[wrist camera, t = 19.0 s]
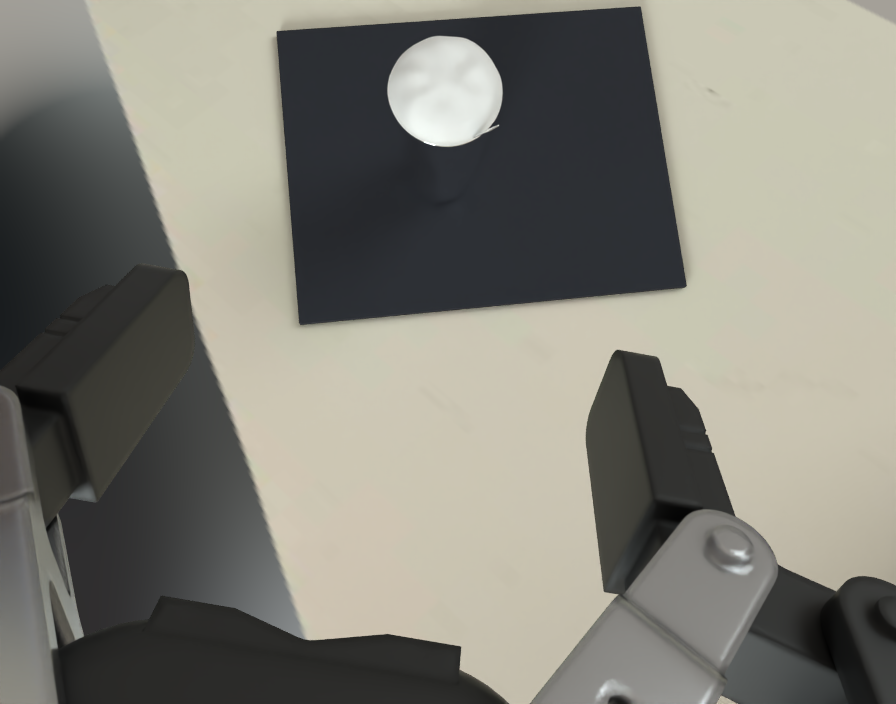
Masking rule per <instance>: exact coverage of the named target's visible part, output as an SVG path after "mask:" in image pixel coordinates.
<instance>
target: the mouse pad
mask: <svg viewBox="0 0 896 704" xmlns="http://www.w3.org/2000/svg"><path fill="white" fill-rule="evenodd" d="M433 36H449V37H461V38H466V39H468V40H470V41H472V42H474V43H475V44H477V45H478V46H479V47H481V48H482V49H483V50H484V51H485V52H486V53H487V55H488V56H489V57H490V59H491V60H492V62H493V63H494V65H495V67H496V69H497V71H498V73H499V75H500V77H501V81H502V91H503V94H502V103H501V107H500V111H499V113H498V115H497V117H496V119H495V122H494V124H493V126H492V127H494V126H497V125H499V126H498V127H497V128H495V129H493V130H492V131H490V132H489V135H488V137H487V139H486V141H485V144H484V146H483V149H482V152H481V154H480V157H479V159H478V162H477V165H476V167H475V170H474V172H473V175H472V177H471V180H470V182H469V185H468V186H467V188H466V189H465V190H464V191H463V192H462V193H461V194H460V196H459V197H458V198H457V199H456V200H455V201H450V202H446V203H441V204H437V205H436V204H434V203H431V202H429V201H426V200H424V199H421V198H419V197H418V196H417V194H416V193H415V191H414V190H413V188H412V187H411V185H410V184H409V182H408V180H407V175H406V171H405V166H404V161H403V156H402V151H401V146H400V141H399V136H398V132H397V128H396V125H395V121H394V117H393V113H392V110H391V107H390V104H389V99H388V91H387V89H388V80H389V77H390V74H391V71H392V69H393V67H394V65H395V63H396V62H397V60H398V59H399V58H400V56H401V55H402V54H403V53H404V52H405V51H406V50H407V49H409V48H410V47H412V46H413V45H415V44H417V43H419V42H420V41H423V40H425V39H427V38H430V37H433ZM277 44H278V56H279V69H280V82H281V95H282V108H283V120H284V133H285V146H286V159H287V172H288V184H289V197H290V210H291V223H292V236H293V249H294V261H295V274H296V287H297V300H298V313H299V324H300V325H305V324H315V323H325V322H335V321H346V320H356V319H366V318H377V317H387V316H397V315H407V314H418V313H428V312H438V311H449V310H459V309H469V308H479V307H490V306H500V305H510V304H521V303H531V302H541V301H551V300H562V299H572V298H582V297H592V296H603V295H613V294H623V293H634V292H644V291H654V290H664V289H675V288H684V287H686V286H687V285H686V279H685V273H684V267H683V261H682V255H681V249H680V243H679V236H678V230H677V224H676V218H675V212H674V206H673V200H672V194H671V188H670V182H669V176H668V170H667V164H666V158H665V152H664V146H663V139H662V133H661V127H660V121H659V115H658V109H657V103H656V97H655V91H654V85H653V79H652V73H651V67H650V61H649V55H648V49H647V42H646V36H645V30H644V24H643V18H642V12H641V7H626V8H611V9H596V10H582V11H567V12H552V13H538V14H523V15H508V16H493V17H479V18H464V19H449V20H434V21H420V22H405V23H390V24H376V25H361V26H346V27H331V28H317V29H302V30H287V31H277Z"/></svg>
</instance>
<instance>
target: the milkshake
mask: <svg viewBox="0 0 896 704" xmlns="http://www.w3.org/2000/svg"><path fill="white" fill-rule="evenodd" d="M387 91H388V99H389V104H390V107H391V110H392V113H393V117H394V121H395V125H396V128H397V132H398V136H399V141H400V146H401V151H402V156H403V161H404V166H405V171H406V175H407V180H408V182H409V184H410V185H411V187H412V188H413V190H414V191H415V193H416V194H417V196H418V197H419V198H421V199H424V200H426V201H429V202H431V203H434V204H436V205H437V204H441V203H446V202H450V201H455V200H456V199H457V198H458V197H459V196H460V194H461V193H462V192H463V191H464V190H465V189H466V188H467V186H468V185H469V182H470V180H471V177H472V175H473V172H474V170H475V167H476V165H477V162H478V159H479V157H480V154H481V152H482V149H483V146H484V144H485V141H486V139H487V137H488V135H489V132H490V131H492V130H493V129H495V128H497V127H498V126H499V125H497V126H494V127H492V126H493V124H494V122H495V119H496V117H497V115H498V113H499V111H500V107H501V103H502V94H503V91H502V81H501V77H500V75H499V73H498V71H497V69H496V67H495V65H494V63H493V62H492V60H491V59H490V57H489V56H488V55H487V53H486V52H485V51H484V50H483V49H482V48H481V47H479V46H478V45H477V44H475V43H474V42H472V41H470V40H468V39H466V38H461V37H449V36H433V37H430V38H427V39H425V40H423V41H420V42H419V43H417V44H415V45H413V46H412V47H410V48H409V49H407V50H406V51H405V52H404V53H403V54H402V55H401V56H400V58H399V59H398V60H397V62H396V63H395V65H394V67H393V69H392V71H391V74H390V77H389V80H388V89H387Z"/></svg>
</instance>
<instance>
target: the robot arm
mask: <svg viewBox="0 0 896 704" xmlns="http://www.w3.org/2000/svg"><path fill="white" fill-rule="evenodd" d="M194 347H195V336H194V327H193V318H192V309H191V300H190V291H189V282H188V278H187V275H186V274H185V272H183V271H181V270H176V269H170V268H164V267H159V266H153V265H147V264H142V263H141V264H138V265H136V266H135V267H134V268H133V269H132V270H131V271H130V272H129V273H128V274H127V275H126V276H125V277H124V278H123V279H122V280H121V281H120V282H119V283H118V284H117V285H116V286H111V285H105V286H102V287H100V288H98V289H96V290H94V291H92V292H90V293H88V294H85V295H83V296H81V297H79V298H78V299H77V300H76V301H75V302H74V303H73V304H72V305H70V306H69V307H68V308H67V309H66V310H65V311H64V312H63V313H62V314H61V315H60V319H58V318H56V319H55V320H54V321H53V322H52V323H51V324H50V325H49V326H48V327H47V328H46V329H45V333H41V334H39V335H38V336H37V337H36V338H35V339H34V340H33V341H32V342H31V343H30V344H29V345H27V346H26V347H25V348H24V349H23V350H22V351H21V352H20V353H19V354H18V355H17V356H16V357H15V358H13V359H12V360H11V361H10V362H9V363H8V364H7V365H6V366H5V367H4V368H3V369H2V370H1V371H0V704H509V703H508V702H507V701H506V700H505V699H504V698H502V697H501V696H500V695H499V694H497V693H496V692H495V691H494V690H492V689H491V688H490V687H489V686H487V685H486V684H484V683H483V682H481V681H479V680H478V679H476V678H475V677H473V676H471V675H469V674H467V673H465V672H463V671H461V670H459V668H460V655H461V647H460V646H455V645H449V644H443V643H437V642H431V641H425V640H419V639H413V638H407V637H401V636H396V635H390V634H384V635H372V636H361V637H349V638H337V639H325V640H304V639H301V638H298V637H296V636H294V635H292V634H290V633H288V632H285V631H283V630H281V629H279V628H277V627H275V626H272V625H270V624H268V623H266V622H264V621H261V620H259V619H257V618H255V617H253V616H251V615H249V614H246V613H244V612H242V611H240V610H238V609H236V608H230V607H224V606H219V605H213V604H207V603H201V602H195V601H189V600H183V599H177V598H171V597H165V596H161V597H160V599H159V601H158V603H157V605H156V607H155V609H154V611H153V613H152V615H151V617H150V619H147V620H138V621H133V622H128V623H123V624H118V625H115V626H112V627H108V628H105V629H101V630H99V631H96V632H94V633H91V634H89V635H86V636H84V635H83V631H82V628H81V624H80V620H79V616H78V611H77V606H76V601H75V595H74V590H73V584H72V580H71V574H70V568H69V563H68V558H67V552H66V547H65V541H64V536H63V531H62V525H61V521H60V518H59V515H58V512H59V511H60V509H61V508H62V507H63V505H64V504H65V503H66V501H67V500H68V498H74V499H80V500H85V501H91V502H98V500H99V499H100V497H101V496H102V494H103V493H104V491H105V490H106V489H107V487H108V486H109V484H110V483H111V481H112V480H113V478H114V477H115V475H116V474H117V473H118V471H119V470H120V468H121V467H122V465H123V464H124V462H125V461H126V459H127V458H128V457H129V455H130V454H131V452H132V451H133V449H134V448H135V446H136V445H137V443H138V442H139V441H140V439H141V438H142V436H143V435H144V433H145V432H146V430H147V429H148V427H149V426H150V424H151V423H152V422H153V420H154V419H155V417H156V416H157V414H158V413H159V411H160V410H161V408H162V407H163V406H164V404H165V403H166V401H167V400H168V398H169V397H170V395H171V394H172V392H173V391H174V390H175V388H176V387H177V385H178V384H179V382H180V381H181V379H182V378H183V376H184V375H185V374H186V372H187V370H188V368H189V366H190V364H191V361H192V358H193V354H194ZM705 432H706V429H705V426H704V423H703V421H702V418H701V415H700V412H699V409H698V408H697V407H696V406H695V404H694V403H693V402H692V401H691V400H690V398H689V397H688V396H687V395H686V394H685V392H684V391H683V390H682V389H681V388H676V387H671V386H667V383H666V380H665V377H664V373H663V370H662V367H661V363H660V360H659V359H658V358H657V357H655V356H649V355H644V354H638V353H633V352H627V351H621V350H616V351H615V352H614V353H613V355H612V357H611V359H610V361H609V364H608V366H607V369H606V372H605V374H604V377H603V379H602V382H601V384H600V387H599V389H598V392H597V395H596V397H595V400H594V402H593V405H592V407H591V410H590V413H589V417H588V421H587V428H586V448H587V456H588V464H589V473H590V481H591V489H592V497H593V506H594V514H595V522H596V531H597V539H598V547H599V556H600V564H601V572H602V580H603V589H604V592H608V593H614V594H619V595H617V597H616V598H615V599H614V600H613V601H612V602H611V603H610V604H609V606H608V607H607V608H606V609H605V611H604V612H603V613H602V614H601V616H600V617H599V618H598V619H597V621H596V622H595V623H594V624H593V626H592V627H591V628H590V629H589V631H588V632H587V633H586V634H585V636H584V637H583V638H582V639H581V641H580V642H579V643H578V644H577V646H576V647H575V648H574V649H573V651H572V652H571V653H570V654H569V655H568V657H567V658H566V659H565V660H564V662H563V663H562V664H561V665H560V667H559V668H558V669H557V670H556V672H555V673H554V674H553V675H552V677H551V678H550V679H549V680H548V682H547V683H546V684H545V685H544V687H543V688H542V689H541V690H540V692H539V693H538V694H537V695H536V697H535V698H534V699H533V700H532V702H531V703H530V704H716V703H717V701H718V700H719V698H720V696H721V695H722V696H724V697H726V698H728V699H730V700H732V701H734V702H736V703H738V704H896V586H895V585H893V584H891V583H889V582H886V581H884V580H881V579H877V578H874V577H867V576H858V577H854V578H851V579H849V580H847V581H846V582H845V583H844V584H843V585H842V586H841V587H840V588H839V589H838V590H837V592H836V591H834V590H832V589H830V588H827V587H825V586H823V585H821V584H818V583H816V582H814V581H812V580H809V579H807V578H805V577H802V576H800V575H798V574H796V573H793V572H791V571H789V570H787V569H785V568H783V567H781V566H780V565H778V564H777V560H776V557H775V555H774V553H773V551H772V549H771V547H770V546H769V544H768V543H767V542H766V540H765V539H764V538H763V537H762V536H761V535H760V534H759V533H758V532H757V531H756V530H755V529H754V528H752V527H751V526H750V525H748V524H747V523H746V522H744V521H742V520H741V519H739V518H737V517H736V516H735V514H734V511H733V508H732V505H731V502H730V499H729V496H728V493H727V490H726V487H725V484H724V482H723V479H722V476H721V473H720V470H719V467H718V464H717V461H716V458H715V455H714V453H712V452H711V450H712V447H711V444H710V441H709V438H708V435H705Z"/></svg>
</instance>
